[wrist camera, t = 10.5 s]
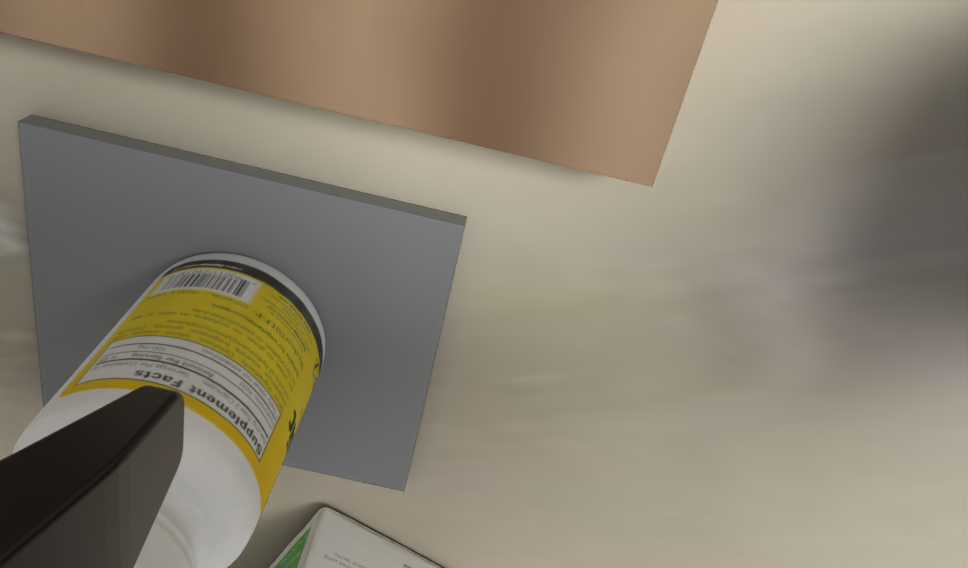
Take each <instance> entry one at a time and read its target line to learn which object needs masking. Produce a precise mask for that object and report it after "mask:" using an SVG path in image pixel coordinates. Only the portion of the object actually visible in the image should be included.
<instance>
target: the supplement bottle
mask: <svg viewBox="0 0 968 568" xmlns="http://www.w3.org/2000/svg"><path fill="white" fill-rule="evenodd" d="M324 356H325V335H324V329H323V326H322V323H321V320H320V317H319V315H318V313H317V311H316V309H315V307H314V306H313V304H312V303H311V301H310V300H309V298H308V297H307V296H306V294H305V293H304V292H303V291H302V290H301V289H300V288H299V287H298V286H297V285H296V284H295V283H294V282H293V281H292V280H290V279H289V278H288V277H287V276H285V275H284V274H283V273H281V272H280V271H278V270H277V269H275V268H273V267H272V266H269V265H267V264H265V263H263V262H261V261H258V260H255V259H252V258H249V257H246V256H242V255H236V254H227V253H208V254H201V255H197V256H193V257H190V258H186V259H184V260H182V261H180V262H178V263H176V264H174V265H172V266H171V267H169V268H168V269H167V270H165V271H164V272H163V273H162V274H161V275H160V276H158V277H157V278H156V279H155V281H154V282H153V283H152V284H151V285H150V286H149V287H148V289H147V290H146V291H145V292H144V293H143V294H142V295H141V296H140V298H139V299H138V300H137V301H136V302H135V303H134V305H133V306H132V307H131V308H130V309H129V310H128V311H127V313H126V314H125V315H124V316H123V317H122V318H121V319H120V321H119V322H118V323H117V324H116V325H115V326H114V328H113V329H112V330H111V331H110V332H109V333H108V334H107V336H106V337H105V338H104V339H103V340H102V341H101V342H100V344H99V345H98V346H97V347H96V348H95V349H94V350H93V352H92V353H91V354H90V355H89V356H88V357H87V359H86V360H85V361H84V362H83V363H82V364H81V365H80V367H79V368H78V369H77V370H76V371H75V372H74V374H73V375H72V376H71V377H70V378H69V379H68V380H67V382H66V383H65V384H64V385H63V386H62V387H61V388H60V389H59V391H58V392H57V393H56V394H55V395H54V396H53V397H52V399H51V400H50V401H49V402H48V403H47V404H46V405H45V406H44V408H43V409H42V410H41V411H40V412H39V413H38V414H37V416H36V417H35V418H34V419H33V420H32V421H31V423H30V424H29V425H28V426H27V427H26V429H25V430H24V431H23V433H22V434H21V436H20V437H19V439H18V441H17V442H16V444H15V446H14V449H13V451H12V454H13V453H15V452H17V451H19V450H21V449H23V448H25V447H27V446H29V445H31V444H32V443H34V442H36V441H38V440H40V439H42V438H44V437H46V436H48V435H50V434H51V433H53V432H55V431H57V430H59V429H61V428H63V427H65V426H67V425H69V424H71V423H72V422H74V421H76V420H78V419H80V418H82V417H84V416H86V415H88V414H90V413H91V412H93V411H95V410H97V409H99V408H101V407H103V406H105V405H107V404H109V403H110V402H112V401H114V400H116V399H118V398H120V397H122V396H124V395H126V394H128V393H130V392H131V391H133V390H135V389H137V388H139V387H142V386H146V385H151V386H156V387H160V388H165V389H169V390H174V391H177V392H179V393H180V394H181V395H182V396H183V399H184V440H183V453H182V457H181V461H180V464H179V467H178V470H177V472H176V474H175V476H174V479H173V481H172V483H171V485H170V488H169V490H168V492H167V494H166V497H165V499H164V501H163V503H162V505H161V508H160V510H159V512H158V514H157V517H156V519H155V521H154V523H153V526H152V528H151V530H150V532H149V535H148V537H147V539H146V541H145V543H144V546H143V548H142V550H141V552H140V555H139V557H138V559H137V561H136V564H135V566H134V568H227V567H228V566H229V565H231V564H232V563H233V562H234V561H235V560H236V559H237V558H238V556H239V555H240V554H241V553H242V551H243V550H244V548H245V547H246V545H247V543H248V542H249V540H250V538H251V536H252V534H253V532H254V530H255V528H256V525H257V523H258V521H259V519H260V516H261V514H262V511H263V509H264V507H265V504H266V502H267V499H268V497H269V494H270V492H271V489H272V487H273V485H274V482H275V480H276V477H277V475H278V472H279V470H280V467H281V465H282V463H283V460H284V458H285V456H286V454H287V452H288V449H289V447H290V444H291V441H292V439H293V436H294V434H295V432H296V429H297V427H298V424H299V422H300V420H301V417H302V415H303V413H304V410H305V408H306V405H307V403H308V401H309V399H310V396H311V394H312V392H313V389H314V387H315V384H316V382H317V379H318V376H319V374H320V371H321V368H322V365H323V361H324Z"/></svg>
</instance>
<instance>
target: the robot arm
mask: <svg viewBox="0 0 968 568" xmlns="http://www.w3.org/2000/svg"><path fill="white" fill-rule="evenodd" d="M183 440H184V399H183V396H182V395H181V394H180V393H179V392H177V391H174V390H169V389H165V388H160V387H156V386H151V385H146V386H142V387H139V388H137V389H135V390H133V391H131V392H130V393H128V394H126V395H124V396H122V397H120V398H118V399H116V400H114V401H112V402H110V403H109V404H107V405H105V406H103V407H101V408H99V409H97V410H95V411H93V412H91V413H90V414H88V415H86V416H84V417H82V418H80V419H78V420H76V421H74V422H72V423H71V424H69V425H67V426H65V427H63V428H61V429H59V430H57V431H55V432H53V433H51V434H50V435H48V436H46V437H44V438H42V439H40V440H38V441H36V442H34V443H32V444H31V445H29V446H27V447H25V448H23V449H21V450H19V451H17V452H15V453H13V454H11V455H10V456H8V457H6V458H4V459H2V460H0V568H134V566H135V564H136V561H137V559H138V557H139V555H140V552H141V550H142V548H143V546H144V543H145V541H146V539H147V537H148V535H149V532H150V530H151V528H152V526H153V523H154V521H155V519H156V517H157V514H158V512H159V510H160V508H161V505H162V503H163V501H164V499H165V497H166V494H167V492H168V490H169V488H170V485H171V483H172V481H173V479H174V476H175V474H176V472H177V470H178V467H179V464H180V461H181V457H182V453H183Z"/></svg>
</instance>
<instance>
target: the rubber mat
mask: <svg viewBox="0 0 968 568" xmlns="http://www.w3.org/2000/svg"><path fill="white" fill-rule="evenodd" d="M18 129H19V140H20V151H21V163H22V174H23V185H24V196H25V207H26V218H27V230H28V241H29V252H30V263H31V274H32V285H33V297H34V308H35V319H36V330H37V341H38V352H39V364H40V375H41V386H42V397H43V408H44V406H45V405H46V404H47V403H48V402H49V401H50V400H51V399H52V397H53V396H54V395H55V394H56V393H57V392H58V391H59V389H60V388H61V387H62V386H63V385H64V384H65V383H66V382H67V380H68V379H69V378H70V377H71V376H72V375H73V374H74V372H75V371H76V370H77V369H78V368H79V367H80V365H81V364H82V363H83V362H84V361H85V360H86V359H87V357H88V356H89V355H90V354H91V353H92V352H93V350H94V349H95V348H96V347H97V346H98V345H99V344H100V342H101V341H102V340H103V339H104V338H105V337H106V336H107V334H108V333H109V332H110V331H111V330H112V329H113V328H114V326H115V325H116V324H117V323H118V322H119V321H120V319H121V318H122V317H123V316H124V315H125V314H126V313H127V311H128V310H129V309H130V308H131V307H132V306H133V305H134V303H135V302H136V301H137V300H138V299H139V298H140V296H141V295H142V294H143V293H144V292H145V291H146V290H147V289H148V287H149V286H150V285H151V284H152V283H153V282H154V281H155V279H156V278H157V277H158V276H160V275H161V274H162V273H163V272H164V271H165V270H167V269H168V268H169V267H171V266H172V265H174V264H176V263H178V262H180V261H182V260H184V259H186V258H190V257H193V256H197V255H201V254H208V253H227V254H236V255H242V256H246V257H249V258H252V259H255V260H258V261H261V262H263V263H265V264H267V265H269V266H272V267H273V268H275V269H277V270H278V271H280V272H281V273H283V274H284V275H285V276H287V277H288V278H289V279H290V280H292V281H293V282H294V283H295V284H296V285H297V286H298V287H299V288H300V289H301V290H302V291H303V292H304V293H305V294H306V296H307V297H308V298H309V300H310V301H311V303H312V304H313V306H314V307H315V309H316V311H317V313H318V315H319V317H320V320H321V323H322V326H323V329H324V335H325V356H324V361H323V365H322V368H321V371H320V374H319V376H318V379H317V382H316V384H315V387H314V389H313V392H312V394H311V396H310V399H309V401H308V403H307V405H306V408H305V410H304V413H303V415H302V417H301V420H300V422H299V424H298V427H297V429H296V432H295V434H294V436H293V439H292V441H291V444H290V447H289V449H288V452H287V454H286V456H285V458H284V460H283V463H282V465H286V466H291V467H295V468H300V469H305V470H309V471H314V472H318V473H323V474H327V475H332V476H336V477H341V478H345V479H350V480H354V481H359V482H363V483H368V484H372V485H377V486H381V487H386V488H390V489H395V490H399V491H404V490H405V486H406V482H407V478H408V473H409V469H410V464H411V460H412V456H413V451H414V447H415V442H416V438H417V434H418V429H419V425H420V420H421V416H422V412H423V407H424V403H425V398H426V394H427V390H428V385H429V381H430V376H431V372H432V368H433V363H434V359H435V354H436V350H437V346H438V341H439V337H440V333H441V328H442V324H443V319H444V315H445V311H446V306H447V302H448V297H449V293H450V289H451V284H452V280H453V275H454V271H455V267H456V262H457V258H458V253H459V249H460V245H461V240H462V236H463V231H464V227H465V223H466V218H467V217H465V216H461V215H456V214H452V213H448V212H444V211H439V210H435V209H431V208H427V207H422V206H418V205H414V204H410V203H405V202H401V201H397V200H392V199H388V198H384V197H380V196H375V195H371V194H367V193H363V192H358V191H354V190H350V189H345V188H341V187H337V186H333V185H328V184H324V183H320V182H316V181H311V180H307V179H303V178H298V177H294V176H290V175H286V174H281V173H277V172H273V171H269V170H264V169H260V168H256V167H252V166H247V165H243V164H239V163H234V162H230V161H226V160H222V159H217V158H213V157H209V156H205V155H200V154H196V153H192V152H187V151H183V150H179V149H175V148H170V147H166V146H162V145H158V144H153V143H149V142H145V141H140V140H136V139H132V138H128V137H123V136H119V135H115V134H111V133H106V132H102V131H98V130H94V129H89V128H85V127H81V126H76V125H72V124H68V123H64V122H59V121H55V120H51V119H47V118H42V117H38V116H34V115H30V116H28V117H26V118H24V119H23V120H21V121H19V122H18Z"/></svg>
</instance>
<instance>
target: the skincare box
mask: <svg viewBox="0 0 968 568" xmlns="http://www.w3.org/2000/svg"><path fill="white" fill-rule="evenodd" d="M269 568H442V567H440V566H438V565H436V564H434V563H432V562H431V561H429V560H427V559H425V558H423V557H421V556H420V555H418V554H416V553H414V552H412V551H411V550H409V549H407V548H405V547H403V546H401V545H400V544H398V543H396V542H394V541H392V540H390V539H388V538H386V537H384V536H382V535H381V534H379V533H377V532H375V531H373V530H371V529H369V528H367V527H365V526H363V525H362V524H360V523H358V522H356V521H354V520H352V519H350V518H349V517H347V516H345V515H343V514H340V513H338V512H336V511H334V510H332V509H331V508H327V507H324V508H321V509H320V510H319V511H318V512H317V513H316V514H315V515H314V516H313V518H312V519H311V520H310V521H309V522H308V524H307V525H306V526H305V527H304V529H303V530H302V531H301V532H300V533H299V534H298V535H297V536H296V537H295V538H294V539H293V540H292V541H291V542H290V543H289V545H288V546H287V547H286V548H285V549H284V550H283V552H282V553H281V554H280V555H279V556H278V558H277V559H276V560H275V561H274V562H273V564H272V565H271V566H270V567H269Z"/></svg>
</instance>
